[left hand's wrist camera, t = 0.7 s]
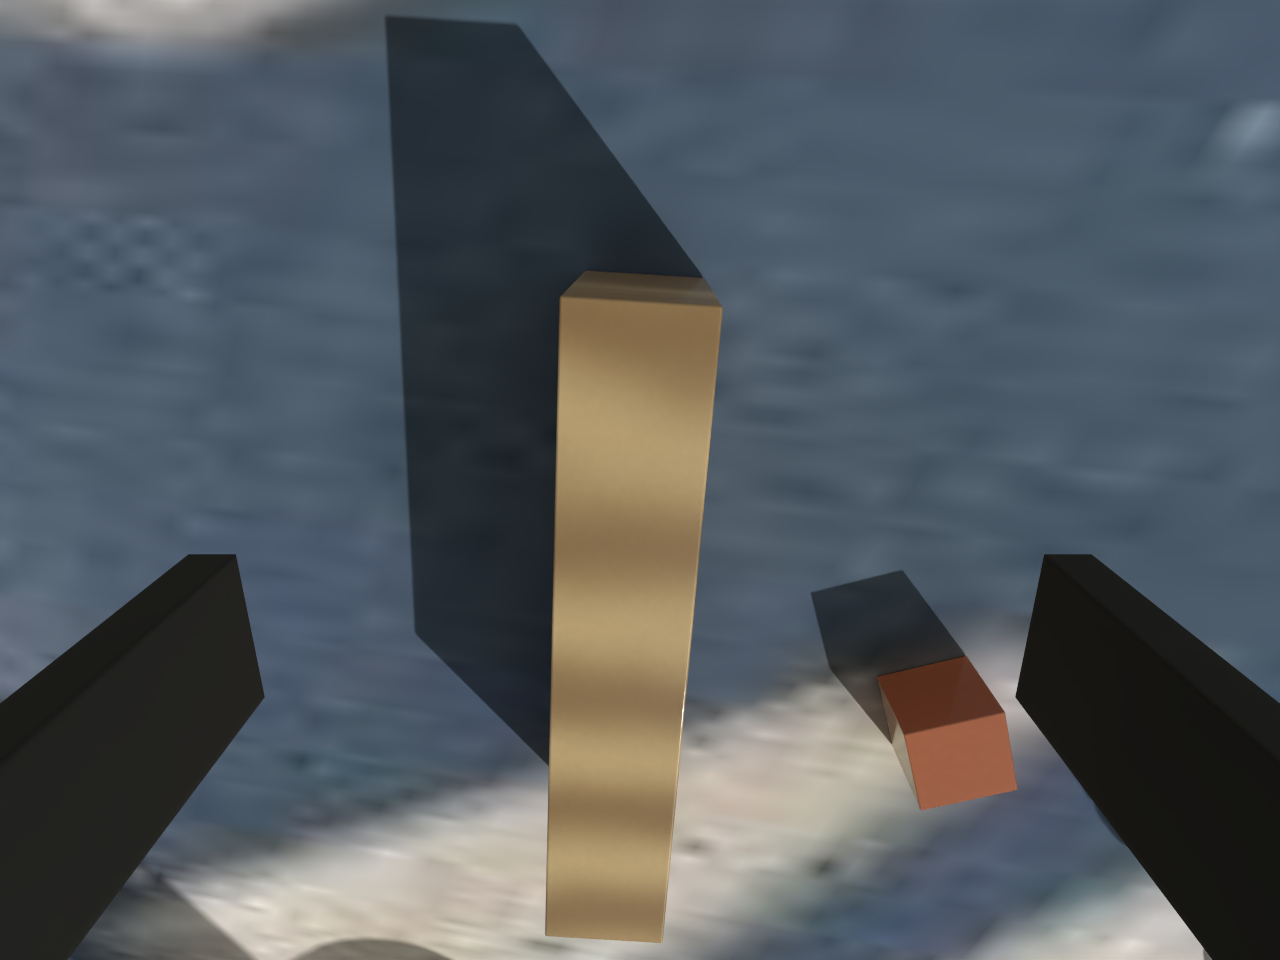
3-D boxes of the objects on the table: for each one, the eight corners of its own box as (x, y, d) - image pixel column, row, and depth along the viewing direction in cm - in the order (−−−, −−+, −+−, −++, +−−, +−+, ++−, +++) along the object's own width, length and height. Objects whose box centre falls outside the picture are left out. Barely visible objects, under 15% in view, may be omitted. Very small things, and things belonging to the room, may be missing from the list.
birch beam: (584, 270, 28) (559, 295, 21) (705, 277, 28) (723, 305, 21) (567, 785, 37) (544, 936, 29) (660, 791, 37) (662, 943, 29)
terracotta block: (966, 655, 34) (1005, 712, 30) (979, 727, 35) (1018, 790, 31) (876, 676, 34) (903, 734, 31) (892, 746, 36) (920, 810, 32)
